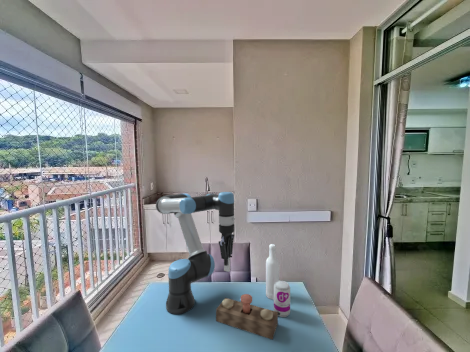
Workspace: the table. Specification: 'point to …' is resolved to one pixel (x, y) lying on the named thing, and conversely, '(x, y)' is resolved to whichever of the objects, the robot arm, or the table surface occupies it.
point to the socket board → (247, 319)
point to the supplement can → (282, 298)
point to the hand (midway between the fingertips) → (227, 270)
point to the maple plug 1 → (227, 303)
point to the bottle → (271, 271)
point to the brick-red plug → (246, 303)
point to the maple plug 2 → (266, 314)
